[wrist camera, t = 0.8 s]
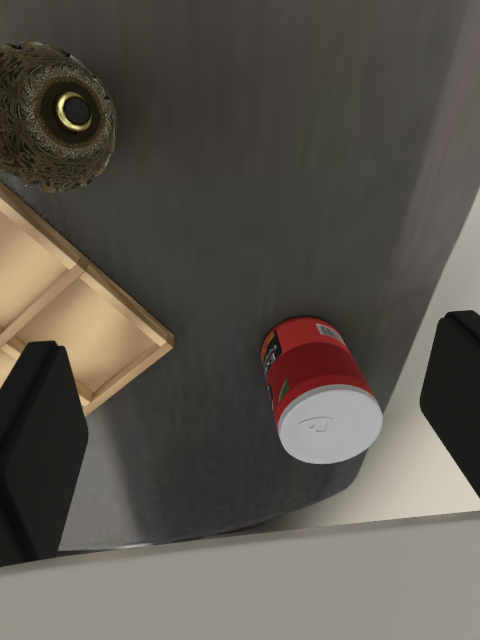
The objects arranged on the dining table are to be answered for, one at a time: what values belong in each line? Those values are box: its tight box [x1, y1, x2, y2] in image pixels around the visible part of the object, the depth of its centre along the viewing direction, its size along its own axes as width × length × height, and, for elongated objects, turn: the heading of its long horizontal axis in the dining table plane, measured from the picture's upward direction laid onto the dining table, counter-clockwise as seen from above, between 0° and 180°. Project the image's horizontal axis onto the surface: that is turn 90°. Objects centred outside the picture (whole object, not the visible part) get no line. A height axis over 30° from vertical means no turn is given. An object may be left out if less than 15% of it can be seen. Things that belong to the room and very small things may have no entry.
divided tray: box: [0, 182, 174, 416], centre depth 37 cm, size 20×20×2 cm
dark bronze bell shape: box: [0, 41, 117, 193], centre depth 26 cm, size 8×7×8 cm
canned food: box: [261, 317, 383, 464], centre depth 37 cm, size 8×8×11 cm
